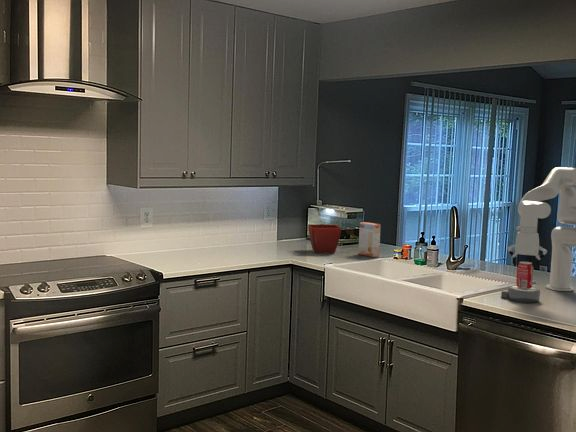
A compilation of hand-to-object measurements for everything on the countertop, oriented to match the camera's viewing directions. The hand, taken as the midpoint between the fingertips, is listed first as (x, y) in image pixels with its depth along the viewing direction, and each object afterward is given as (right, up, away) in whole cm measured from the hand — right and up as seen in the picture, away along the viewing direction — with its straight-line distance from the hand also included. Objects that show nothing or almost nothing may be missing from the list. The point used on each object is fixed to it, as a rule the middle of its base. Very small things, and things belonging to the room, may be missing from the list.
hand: (526, 266), depth 293 cm
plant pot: (-86, 0, +124) cm, 151 cm away
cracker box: (-58, -2, +113) cm, 127 cm away
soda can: (-1, -10, +1) cm, 10 cm away
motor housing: (-2, -15, +2) cm, 16 cm away
